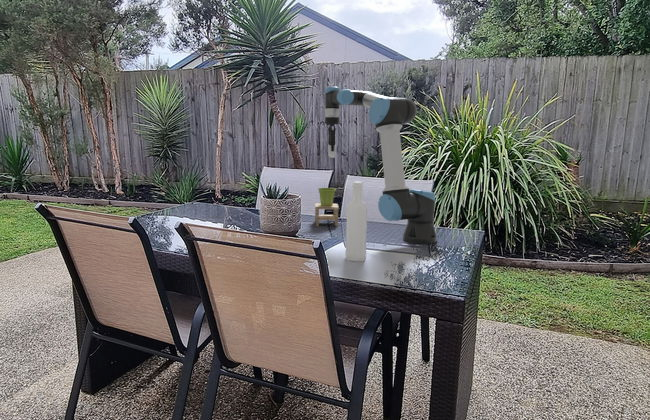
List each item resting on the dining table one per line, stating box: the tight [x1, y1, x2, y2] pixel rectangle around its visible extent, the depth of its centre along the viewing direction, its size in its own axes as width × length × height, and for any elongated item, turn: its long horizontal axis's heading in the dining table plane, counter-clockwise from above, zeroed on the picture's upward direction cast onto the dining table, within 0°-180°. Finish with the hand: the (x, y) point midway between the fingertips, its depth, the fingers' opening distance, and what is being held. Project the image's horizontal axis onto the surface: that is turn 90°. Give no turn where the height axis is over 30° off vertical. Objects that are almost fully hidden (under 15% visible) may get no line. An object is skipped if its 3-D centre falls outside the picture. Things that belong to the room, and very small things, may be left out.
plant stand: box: [314, 202, 340, 227], centre depth 229 cm, size 12×12×10 cm
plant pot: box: [318, 187, 337, 206], centre depth 227 cm, size 9×9×9 cm
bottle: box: [345, 181, 368, 262], centre depth 165 cm, size 8×8×30 cm
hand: (331, 156), depth 235 cm, fingers open, 13 cm apart
